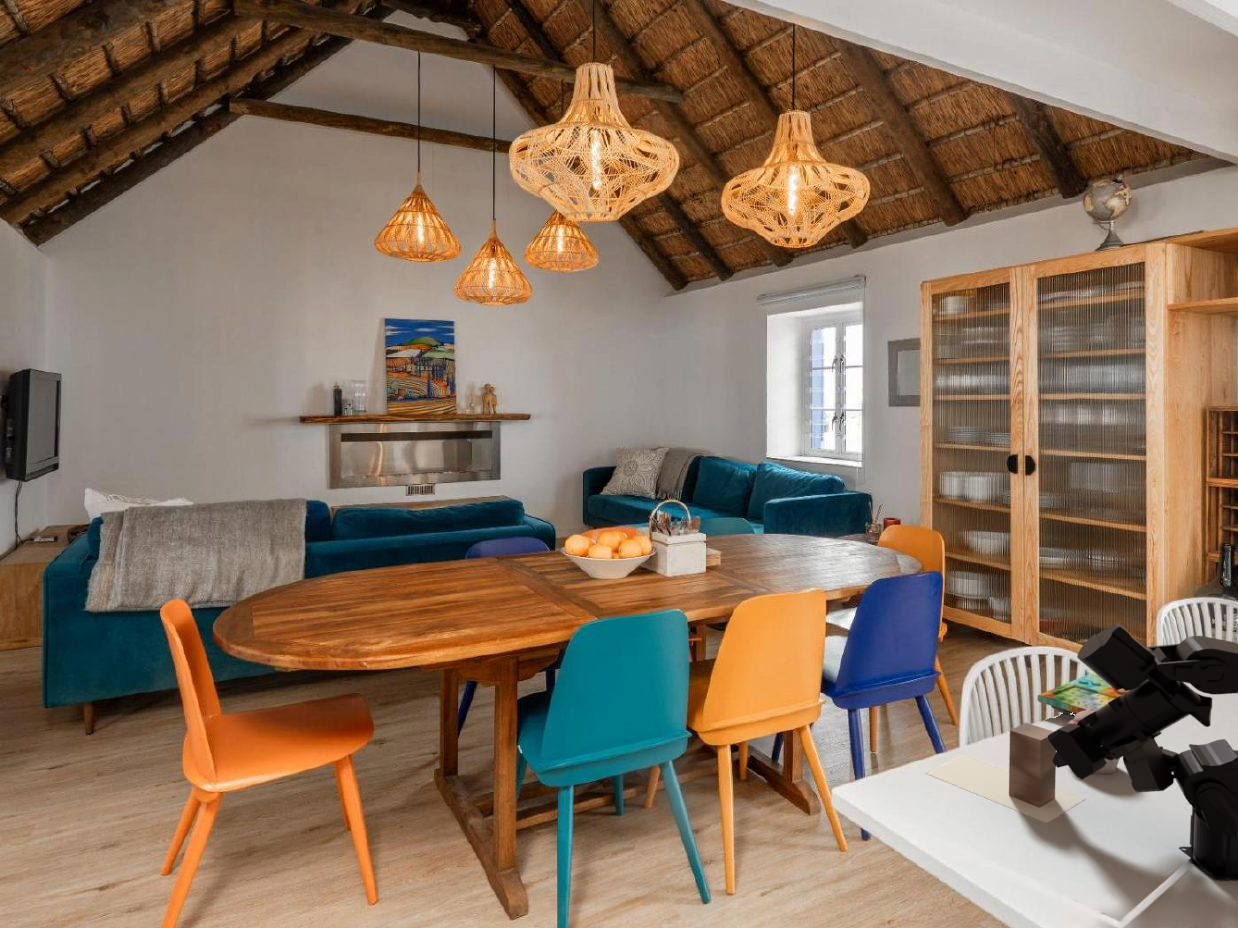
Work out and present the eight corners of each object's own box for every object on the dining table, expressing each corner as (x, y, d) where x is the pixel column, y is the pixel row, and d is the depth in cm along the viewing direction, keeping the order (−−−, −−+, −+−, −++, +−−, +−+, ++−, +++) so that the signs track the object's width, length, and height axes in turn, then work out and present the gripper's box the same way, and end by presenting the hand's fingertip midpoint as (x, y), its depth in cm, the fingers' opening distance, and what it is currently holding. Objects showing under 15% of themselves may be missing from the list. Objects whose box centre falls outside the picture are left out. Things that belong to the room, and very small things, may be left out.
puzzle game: (1156, 686, 150) (1103, 709, 139) (1156, 710, 150) (1102, 735, 139) (1092, 669, 160) (1037, 690, 149) (1091, 692, 160) (1037, 714, 149)
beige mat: (1085, 802, 116) (1085, 798, 116) (1047, 827, 110) (1047, 822, 110) (963, 757, 131) (964, 753, 131) (924, 776, 125) (924, 772, 125)
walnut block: (1055, 798, 116) (1056, 732, 115) (1039, 807, 114) (1040, 740, 113) (1024, 786, 120) (1025, 722, 119) (1008, 795, 117) (1009, 730, 117)
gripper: (1163, 790, 93) (1065, 841, 103) (1222, 748, 104) (1127, 798, 114) (1093, 706, 99) (1006, 761, 109) (1155, 674, 110) (1071, 727, 120)
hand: (1055, 763), depth 113 cm, fingers closed
